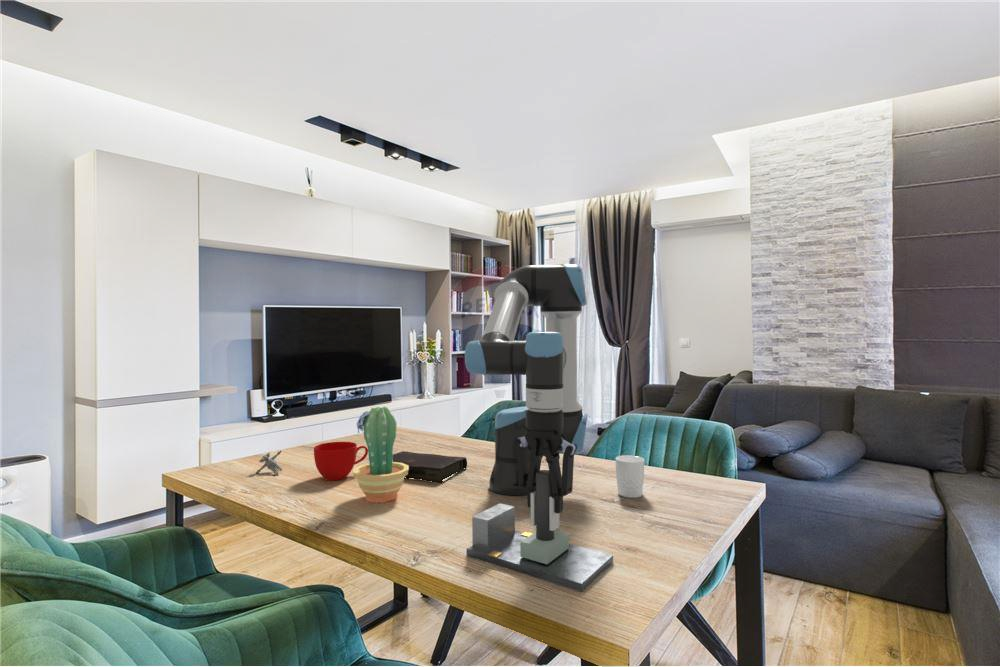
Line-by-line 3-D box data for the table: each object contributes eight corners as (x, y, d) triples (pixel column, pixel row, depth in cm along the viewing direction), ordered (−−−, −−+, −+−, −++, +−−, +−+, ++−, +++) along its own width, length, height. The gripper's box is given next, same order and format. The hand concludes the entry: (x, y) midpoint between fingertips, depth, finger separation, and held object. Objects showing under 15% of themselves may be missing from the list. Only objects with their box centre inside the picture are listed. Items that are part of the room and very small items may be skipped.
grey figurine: (261, 479, 163) (247, 465, 168) (270, 488, 167) (257, 474, 173) (287, 455, 168) (273, 442, 173) (295, 465, 172) (282, 452, 177)
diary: (403, 464, 183) (403, 449, 183) (467, 471, 173) (467, 455, 173) (371, 477, 166) (371, 461, 166) (439, 485, 156) (439, 468, 156)
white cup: (645, 499, 141) (645, 462, 141) (615, 497, 143) (615, 461, 143) (643, 490, 149) (643, 455, 149) (615, 489, 150) (615, 454, 150)
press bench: (466, 555, 106) (466, 519, 106) (505, 533, 118) (504, 500, 118) (581, 592, 92) (581, 549, 91) (613, 562, 103) (612, 524, 103)
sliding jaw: (520, 556, 102) (519, 475, 102) (543, 541, 109) (543, 465, 109) (547, 564, 98) (546, 480, 98) (569, 547, 106) (568, 469, 106)
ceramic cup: (375, 476, 164) (374, 445, 164) (320, 486, 155) (320, 452, 155) (361, 468, 175) (360, 438, 175) (309, 476, 165) (309, 445, 165)
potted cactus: (383, 485, 155) (383, 402, 155) (421, 494, 146) (420, 406, 146) (340, 499, 142) (340, 408, 142) (379, 510, 133) (378, 413, 133)
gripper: (499, 408, 105) (500, 523, 105) (573, 415, 96) (574, 541, 96) (519, 403, 111) (519, 512, 112) (591, 410, 102) (591, 529, 102)
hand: (545, 525), depth 104 cm, fingers closed on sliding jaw, 4 cm apart
